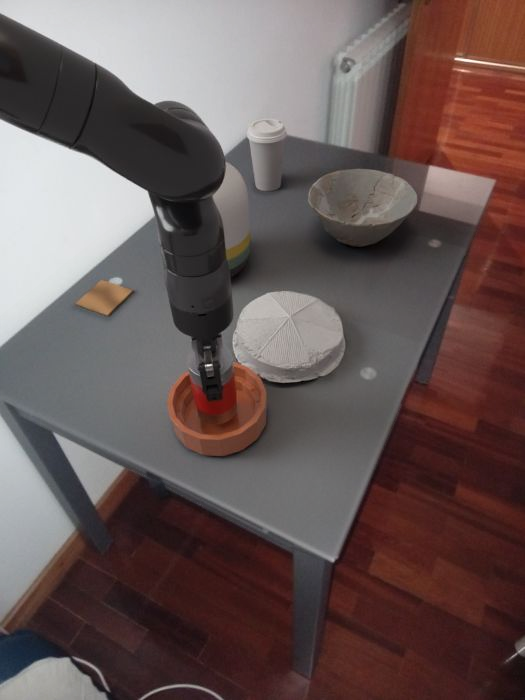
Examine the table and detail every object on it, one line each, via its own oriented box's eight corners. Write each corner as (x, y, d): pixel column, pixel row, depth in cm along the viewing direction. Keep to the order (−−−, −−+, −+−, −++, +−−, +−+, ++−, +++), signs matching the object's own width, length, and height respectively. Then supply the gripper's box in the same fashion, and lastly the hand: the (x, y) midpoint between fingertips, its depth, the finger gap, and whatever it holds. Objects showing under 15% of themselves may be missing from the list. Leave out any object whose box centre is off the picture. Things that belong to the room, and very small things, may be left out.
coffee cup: (288, 193, 122) (289, 132, 112) (250, 195, 122) (247, 135, 111) (284, 174, 129) (284, 116, 118) (248, 177, 129) (245, 118, 118)
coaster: (108, 316, 93) (107, 314, 93) (75, 304, 96) (75, 303, 96) (133, 291, 98) (133, 290, 98) (102, 281, 101) (101, 279, 100)
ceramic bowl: (411, 213, 115) (420, 173, 107) (403, 273, 100) (412, 231, 92) (318, 202, 119) (320, 162, 112) (296, 257, 104) (297, 216, 97)
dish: (238, 473, 70) (236, 454, 66) (154, 435, 75) (148, 416, 71) (282, 399, 79) (282, 379, 75) (204, 369, 83) (200, 349, 80)
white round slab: (273, 292, 97) (272, 264, 92) (364, 331, 88) (369, 303, 83) (209, 355, 86) (204, 327, 81) (306, 406, 78) (307, 378, 73)
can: (224, 430, 72) (218, 383, 64) (188, 415, 74) (177, 367, 66) (245, 399, 76) (241, 351, 68) (210, 386, 78) (202, 337, 70)
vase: (264, 250, 106) (260, 140, 89) (231, 299, 96) (220, 185, 78) (195, 235, 111) (178, 128, 93) (156, 280, 100) (130, 168, 83)
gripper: (166, 256, 62) (184, 347, 75) (168, 335, 53) (189, 424, 65) (225, 250, 63) (233, 341, 75) (238, 327, 53) (245, 417, 65)
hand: (213, 379), depth 70 cm, fingers closed on can, 6 cm apart
